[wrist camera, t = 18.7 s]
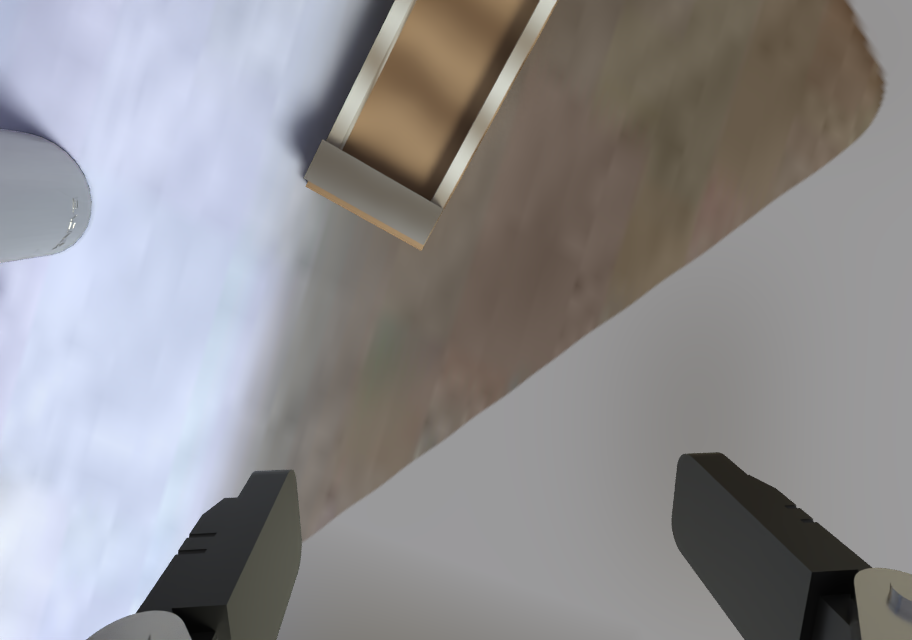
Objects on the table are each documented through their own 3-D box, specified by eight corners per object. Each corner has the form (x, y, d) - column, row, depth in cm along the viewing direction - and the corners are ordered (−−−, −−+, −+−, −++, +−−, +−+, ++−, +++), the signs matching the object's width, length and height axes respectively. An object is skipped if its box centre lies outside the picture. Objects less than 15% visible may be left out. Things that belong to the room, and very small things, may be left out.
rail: (421, 248, 42) (421, 255, 38) (309, 186, 40) (296, 185, 36) (636, -144, 37) (665, -190, 32) (517, -236, 35) (531, -297, 31)
